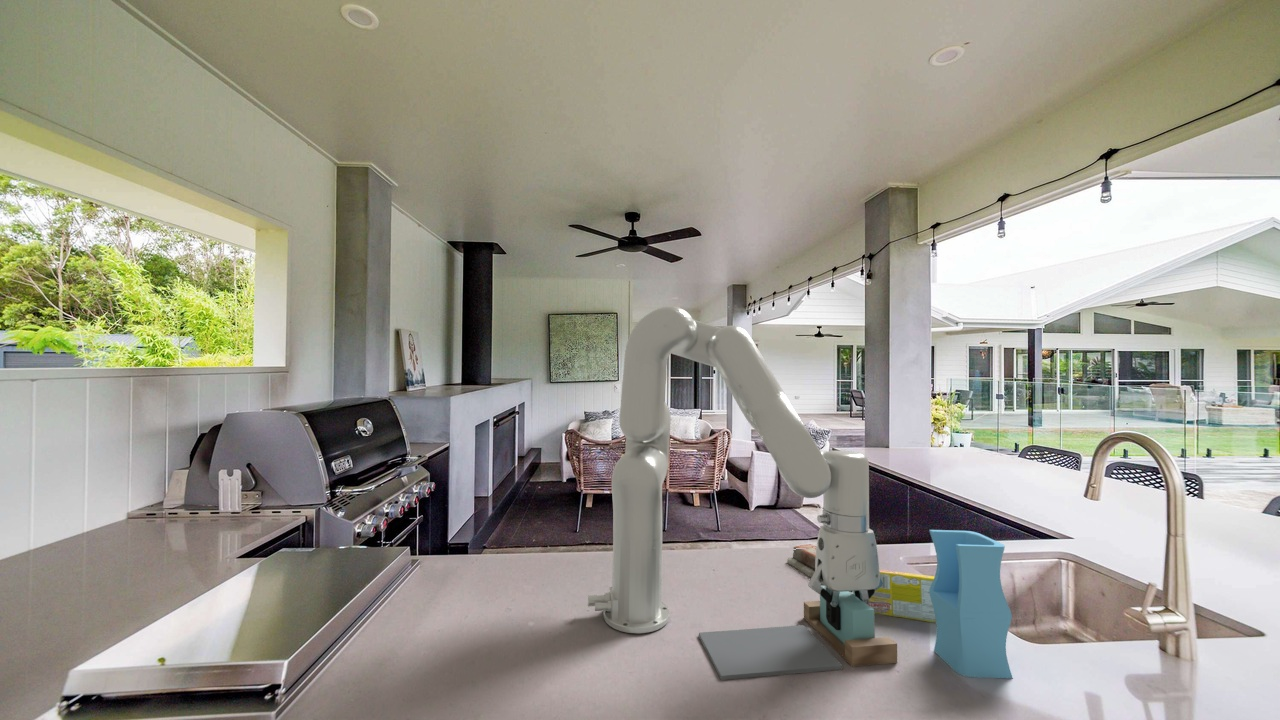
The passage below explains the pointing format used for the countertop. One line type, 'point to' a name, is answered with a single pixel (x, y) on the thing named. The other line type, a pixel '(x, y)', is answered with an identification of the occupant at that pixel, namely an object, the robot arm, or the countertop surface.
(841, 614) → the block
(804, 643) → the mat
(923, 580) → the candy box
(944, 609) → the vase
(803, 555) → the packaged product
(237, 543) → the countertop surface
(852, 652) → the frame
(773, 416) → the robot arm
